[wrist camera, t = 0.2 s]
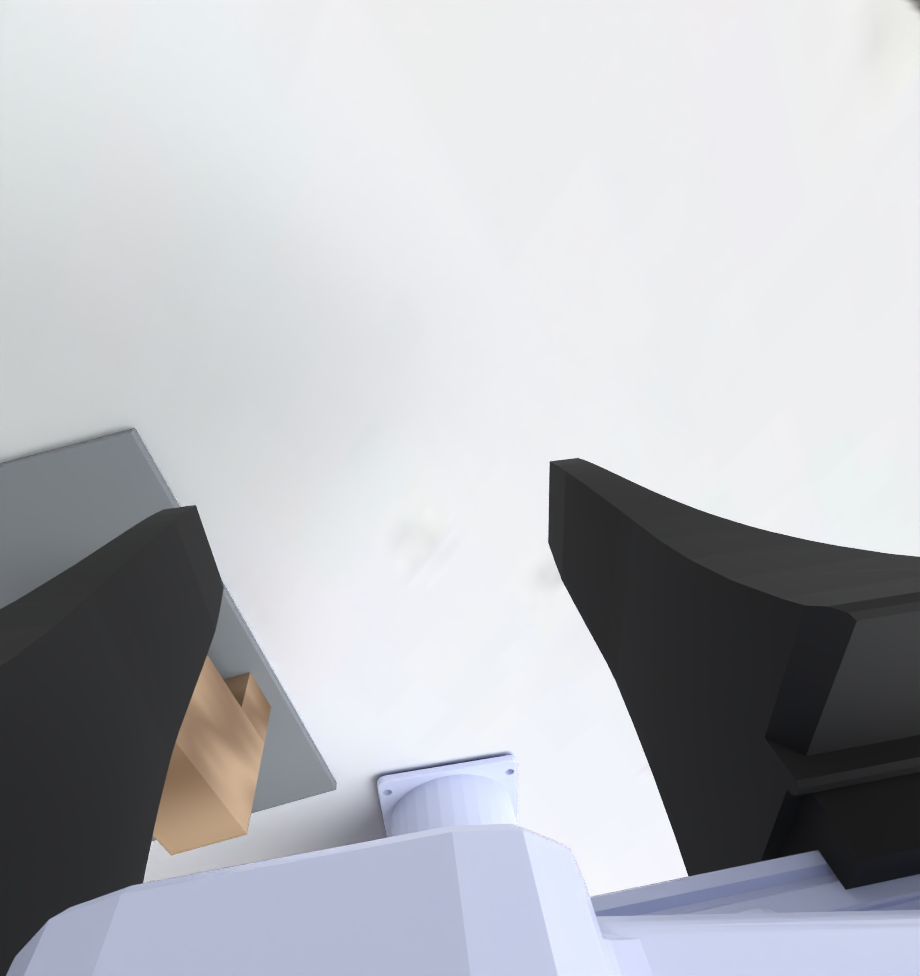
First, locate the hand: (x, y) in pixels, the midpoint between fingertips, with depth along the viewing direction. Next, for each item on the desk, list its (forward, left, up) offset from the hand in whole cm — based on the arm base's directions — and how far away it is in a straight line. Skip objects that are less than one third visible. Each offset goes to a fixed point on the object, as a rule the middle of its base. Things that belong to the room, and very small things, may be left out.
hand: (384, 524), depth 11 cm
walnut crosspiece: (-11, +9, -10) cm, 17 cm away
